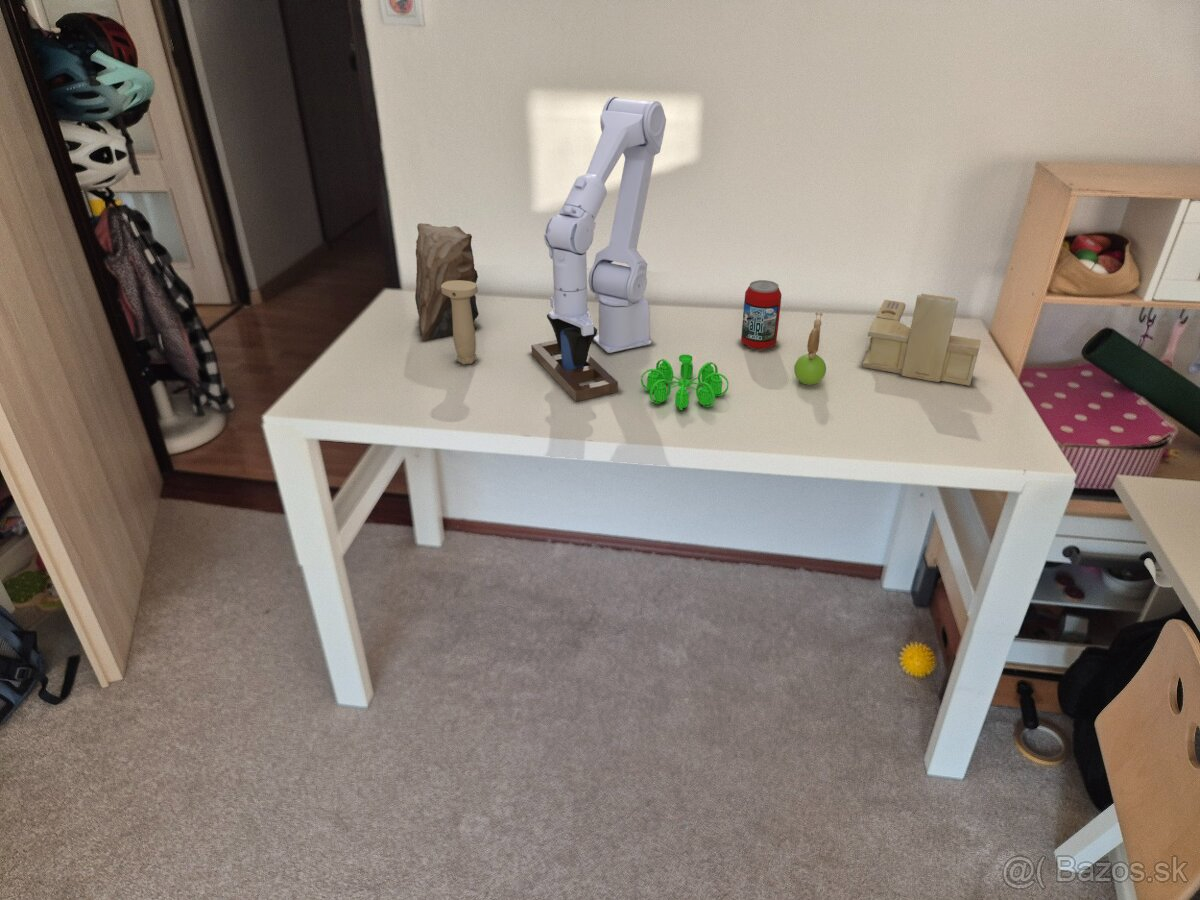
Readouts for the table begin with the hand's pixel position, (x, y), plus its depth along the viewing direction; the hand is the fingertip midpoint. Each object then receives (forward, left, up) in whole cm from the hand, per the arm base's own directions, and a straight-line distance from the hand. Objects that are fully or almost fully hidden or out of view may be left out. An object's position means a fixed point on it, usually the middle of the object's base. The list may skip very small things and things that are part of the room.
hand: (572, 357), depth 151 cm
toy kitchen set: (-60, +24, -3) cm, 65 cm away
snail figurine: (-36, +22, -3) cm, 42 cm away
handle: (+16, -13, -3) cm, 21 cm away
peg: (0, 0, -3) cm, 3 cm away
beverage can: (-37, +5, -3) cm, 37 cm away
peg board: (0, 0, -3) cm, 3 cm away
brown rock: (+16, -30, -3) cm, 34 cm away
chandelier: (-14, +16, -3) cm, 21 cm away
